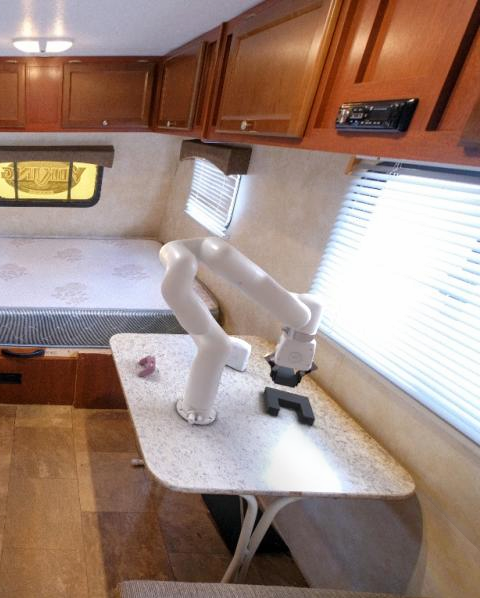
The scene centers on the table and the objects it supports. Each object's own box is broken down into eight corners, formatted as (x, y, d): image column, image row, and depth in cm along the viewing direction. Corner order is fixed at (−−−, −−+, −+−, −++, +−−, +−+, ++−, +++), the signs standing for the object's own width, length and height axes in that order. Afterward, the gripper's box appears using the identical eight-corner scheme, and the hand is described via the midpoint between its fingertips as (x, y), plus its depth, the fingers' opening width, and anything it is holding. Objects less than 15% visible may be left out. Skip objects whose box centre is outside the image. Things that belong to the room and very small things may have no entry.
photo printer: (246, 368, 148) (254, 343, 143) (242, 373, 145) (250, 346, 140) (221, 358, 154) (229, 332, 149) (217, 361, 151) (224, 336, 146)
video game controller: (147, 381, 138) (158, 369, 135) (137, 375, 137) (148, 363, 134) (147, 366, 147) (157, 355, 144) (138, 361, 146) (148, 349, 143)
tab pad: (294, 388, 115) (297, 380, 114) (274, 383, 117) (276, 376, 116) (289, 371, 124) (291, 363, 123) (270, 367, 126) (272, 359, 124)
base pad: (312, 425, 120) (315, 418, 118) (266, 413, 124) (268, 406, 123) (305, 403, 130) (308, 397, 129) (263, 392, 134) (265, 386, 133)
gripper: (271, 333, 109) (256, 381, 117) (336, 345, 105) (316, 395, 112) (268, 322, 116) (254, 369, 123) (329, 333, 111) (310, 381, 118)
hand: (283, 381), depth 118 cm, fingers closed on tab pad, 6 cm apart
